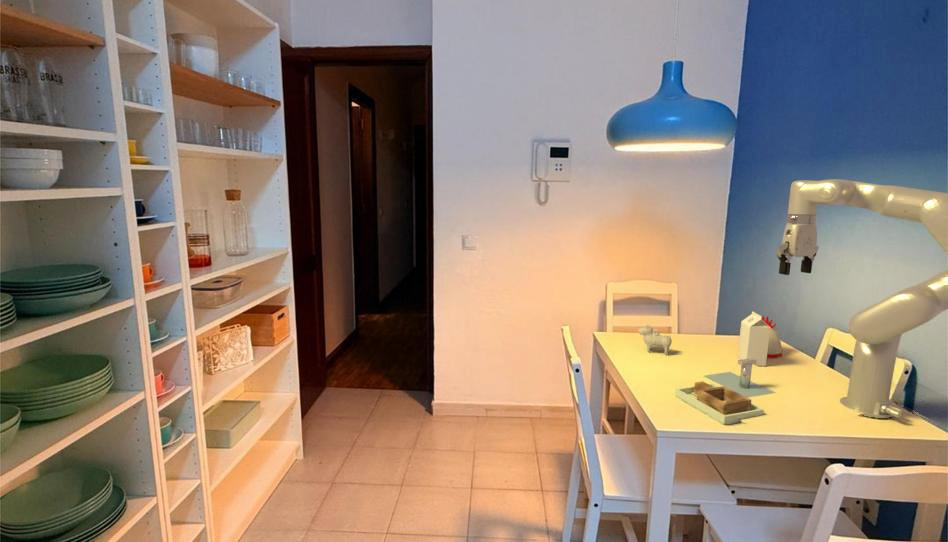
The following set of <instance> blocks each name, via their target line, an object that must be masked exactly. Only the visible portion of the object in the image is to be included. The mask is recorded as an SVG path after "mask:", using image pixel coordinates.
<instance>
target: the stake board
mask: <svg viewBox="0 0 948 542" xmlns="http://www.w3.org/2000/svg"><path fill="white" fill-rule="evenodd" d="M703 377H704V378H707V379H708V380H710V381H712V382H714V383H716V384H718V385H720V386H721V387H722V386H725V387H727V388H729V389H731V390H733V391H735V392H737V393H739V394H741V395H743V396H745V397H747V398H753V397H759V396H765V395H770V394H775V393H777V392H775V391H773V390H771V389H769V388H767V387H765V386H762V385H760V384H758V383H756V382H754V381H751V380H750V388H749V389H744V388H741V387H739V382H740V375H738V374H735V373H733V372H732V371H726V372H719V373H713V374H712V373H711V374H704V375H703Z"/></svg>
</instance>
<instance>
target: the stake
mask: <svg viewBox="0 0 948 542" xmlns="http://www.w3.org/2000/svg"><path fill="white" fill-rule="evenodd" d="M755 363H756V359H753V358H749V359H742V360H741V359H737V364H738V365H740V374H739V376H740V382H739V387H741V388H744V389H749V388H750V381H751V376H752V370H753V364H755Z"/></svg>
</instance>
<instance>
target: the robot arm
mask: <svg viewBox="0 0 948 542" xmlns="http://www.w3.org/2000/svg"><path fill="white" fill-rule="evenodd" d="M788 199H789V200H788V208H787V218H786V225H785V228H784V232H783V236H782V240H781V245H780V246H778V247H777V248H776V251H775V252H776V254H777V255H776V256H777V258H778V261H779V266H778V267H779V268H778V274H779V275H784V276H789V275H790V273H791V262H790V261H791V260H792V258H793V257H797V258H799V257H802V259H801V261H800V262H801V264H800V265H801V266H800V273H805V274H812V269H813V261H815V257H816V256H817V253H818V250H819V248H820V247H819V246H818V245H817V242H818V229H817V228H818V227H817V225H816V220H817V213H818V205H828V206H829V205H830V206H833V205H842V206H848V207H855V208H860V209H865V210H869V211H873V212H876V213H877V214H879V215H880V216H884V217H888V218H893V219H899V220H906V221H910V222H917V223H919V224H922V225H923V226H924V227H925V229H926V230H927V232H928V233H929V234H930V235H931V236H932V237H933V238H934V240H935V242H937V244H938V245H939V246H940V248H941V249H943V251H944V253H946V254H947V256H948V192H941V191H934V190H927V189H919V188H912V187H907V186H899V185H898V186H897V185H887V184H886V185H883V184H876V183H869V182H863V181H856V180H855V181H854V180H851V179H850V180H848V179H840V178H839V179H835V178H834V179H833V178H830V179H821V180H813V179H812V180H811V179H810V180H807V179H806V180H805V179H803V180H795V181H793V182H792V183H791V185H790V190H789V198H788ZM947 310H948V268H947V269H945V270H943V271H941V272H939V273H937V274H936V275H934V276H932V277H930V278H928V279H926V280H924V281H922V282H920V283H918V284H915V285H912V286H909V287H906V288H904V289H902V290H900V291H897V292H895V293H894V294H891V295H890V296H888V297H886V298H884V299H881V300H880V301H878V302H876V303H874V304H873V305H871V306H869V307H867V308H866V307H865V309H863V310H860V311H858V312H856V313H855V314H854V315H853V316H852V317H851V318H850V320H849V323H848V332H849V333H850V335H851V336H852V338H854V340H855V344H854V349H853V355H852V362H851V368H850V374H849V382H848V389H847V393H846V396H843V397H841V398H840V399H839V402H840V404H841V405H842V406H844V407H845V408H847V409H849V410H852V411H854V412H857V413H859V416H862V415H864V417H866V416H868V417H867V418H871V417H875V418H874V419H878V418H888V419H890V418H889V417H892V416H893V417H895V418H897V419H901V417H902V416H903V409H902V408H899V407H895V406H894V400H892V399H890V394H891V391H892V383H893V378H894V373H895V365H896V361H897V356H898V350H899V346H900V342H901V340H902V335H903V334H906V333H908V332H909V331H912V330H914V329H916V328H918V327H920V326H922V325H924V324H927V323H929V322H930V321H931V320H933V319H935V318H936V317H937V316H938V315H940V314H941V313H943V312H945V311H947ZM893 417H892V418H893Z"/></svg>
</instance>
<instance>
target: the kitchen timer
mask: <svg viewBox="0 0 948 542" xmlns="http://www.w3.org/2000/svg"><path fill="white" fill-rule="evenodd" d="M762 320H763V321H764V322H765V323H766V324H767V325H768V326H769V327H770V335H769V343H768V351H767V359H779V358H781V357H782V354H783V348H782V347H783V346H782V341H781V338H780V335H779V333H778V332H777V331H776V330H775V327H776V325H777V323H775V324H772V323H773V319H771V320H770V321H769V316H766V318H765V316H764V315H762ZM778 357H779V358H778Z"/></svg>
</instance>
